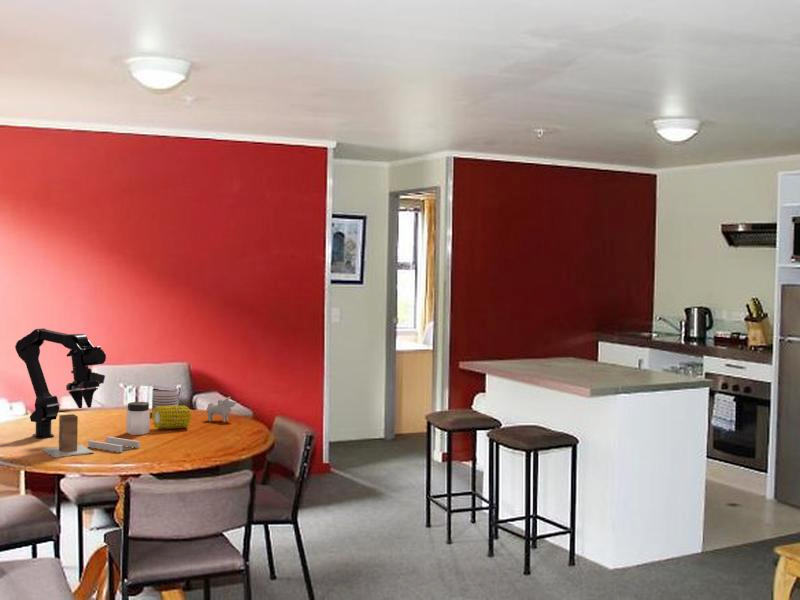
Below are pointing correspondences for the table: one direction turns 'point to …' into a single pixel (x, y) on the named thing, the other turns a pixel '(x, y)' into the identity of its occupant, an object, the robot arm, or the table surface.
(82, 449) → the plate
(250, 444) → the table surface
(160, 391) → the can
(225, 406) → the dog figurine
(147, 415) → the jar
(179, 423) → the food
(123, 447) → the channel
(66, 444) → the post
